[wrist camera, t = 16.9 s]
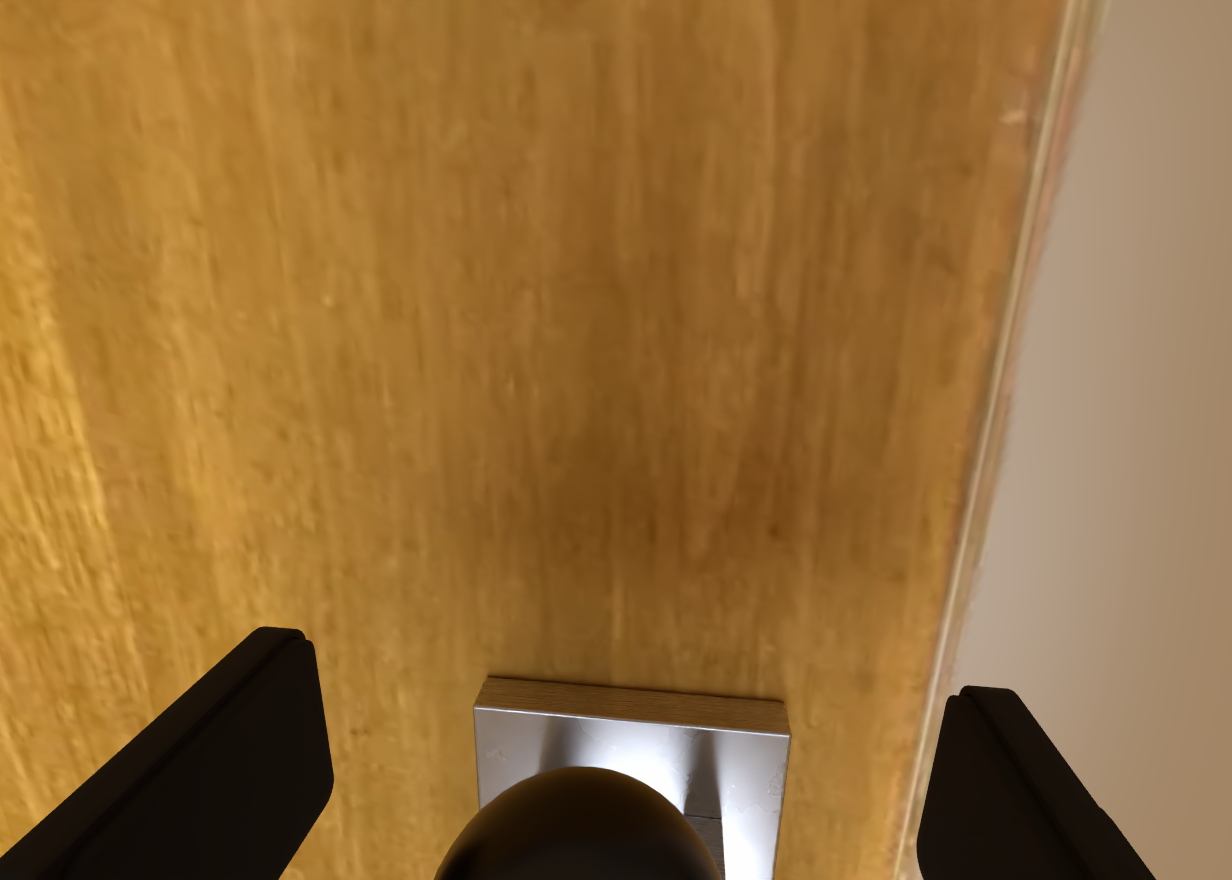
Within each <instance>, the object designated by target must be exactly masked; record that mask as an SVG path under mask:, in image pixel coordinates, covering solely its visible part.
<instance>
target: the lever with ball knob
mask: <svg viewBox="0 0 1232 880" xmlns="http://www.w3.org/2000/svg"><path fill="white" fill-rule="evenodd" d="M434 880H722V878H721V876H720V873H719V871H718V868H717V866H716V863H715V861H714V859H713V857H712V855H711V854H710V852H709V850H708V848H707V846H706V844H705V842H704V841H703V840H702V838H701V837H700V835H699V834H698V832H697V831H696V830H695V828H694V827H693V825H692V824H691V823H690V822H689V821H688V819H687V818H686V817H685V816H684V815H683V814H682V813H681V812H680V810H679V809H678V808H677V807H676V806H675V805H674V804H673V803H671V802H670V801H669V800H668V799H667V798H666V797H664V796H663V795H662V794H661V793H659V792H658V791H656V790H655V789H653V788H652V787H650V786H649V785H647V784H646V783H644V782H642V781H640V780H638V779H636V778H634V777H631V776H629V775H627V774H624V773H620V772H617V771H614V770H611V769H605V768H599V767H590V766H573V767H565V768H558V769H554V770H550V771H546V772H543V773H539V774H536V775H534V776H531V777H529V778H527V779H524V780H522V781H520V782H518V783H516V784H515V785H513V786H511V787H510V788H508V789H506V790H505V791H503V792H502V793H501V794H499V795H498V796H497V797H496V798H494V799H493V800H492V801H491V802H489V803H488V804H487V805H486V806H485V807H483V808H482V809H481V810H480V811H479V812H478V813H477V814H476V815H475V817H474V818H473V819H472V820H471V821H470V822H469V823H468V824H467V825H466V827H465V828H464V829H463V831H462V832H461V833H460V835H459V836H458V837H457V839H456V840H455V841H454V843H453V844H452V846H451V848H450V849H449V851H448V853H447V854H446V856H445V858H444V860H443V861H442V863H441V865H440V867H439V868H438V870H437V873H436V875H435V878H434Z"/></svg>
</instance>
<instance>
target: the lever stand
mask: <svg viewBox="0 0 1232 880" xmlns="http://www.w3.org/2000/svg"><path fill="white" fill-rule="evenodd" d="M473 715H474V732H475V748H476V765H477V782H478V799H479V811H480V810H481V809H482V808H483V807H485V806H486V805H487V804H488V803H489V802H491V801H492V800H493V799H494V798H496V797H497V796H498V795H499V794H501V793H502V792H503V791H505V790H506V789H508V788H510V787H511V786H513V785H515V784H516V783H518V782H520V781H522V780H524V779H527V778H529V777H531V776H534V775H536V774H539V773H543V772H546V771H550V770H554V769H558V768H565V767H573V766H590V767H599V768H605V769H611V770H614V771H617V772H620V773H624V774H627V775H629V776H631V777H634V778H636V779H638V780H640V781H642V782H644V783H646V784H647V785H649V786H650V787H652V788H653V789H655V790H656V791H658V792H659V793H661V794H662V795H663V796H664V797H666V798H667V799H668V800H669V801H670V802H671V803H673V804H674V805H675V806H676V807H677V808H678V809H679V810H680V812H681V813H682V814H683V815H684V816H685V817H686V818H687V819H688V821H689V822H690V823H691V824H692V825H693V827H694V828H695V830H696V831H697V832H698V834H699V835H700V837H701V838H702V840H703V841H704V842H705V844H706V846H707V848H708V850H709V852H710V854H711V855H712V857H713V859H714V861H715V863H716V866H717V868H718V871H719V873H720V876H721V878H722V880H774V875H775V866H776V858H777V850H778V842H779V834H780V826H781V818H782V809H783V801H784V793H785V785H786V777H787V769H788V761H789V752H790V744H791V736H792V735H791V730H790V726H789V721H788V717H787V712H786V707H785V704H784V703H782V702H773V701H762V700H750V699H738V698H727V697H715V696H703V695H692V694H680V693H668V692H657V691H645V690H633V689H622V688H610V687H598V686H587V685H575V684H563V683H552V682H540V681H528V680H517V679H505V678H493V677H487V678H486V679H485V682H484V684H483V686H482V688H481V690H480V692H479V694H478V697H477V699H476V701H475V703H474V705H473Z"/></svg>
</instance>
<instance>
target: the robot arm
mask: <svg viewBox="0 0 1232 880" xmlns="http://www.w3.org/2000/svg"><path fill="white" fill-rule="evenodd" d="M333 783H334V774H333V767H332V761H331V754H330V748H329V741H328V734H327V728H326V721H325V715H324V708H323V702H322V695H321V688H320V682H319V675H318V669H317V662H316V655H315V649H314V646H313V643H312V642H311V641H309V640H306V638H305V635H304V634H303V632H302V631H300V630H298V629H289V628H277V627H259V628H258V629H256V630H255V631H253V632H252V633H251V634H250V635H249V636H248V637H246V638H245V639H244V640H243V641H242V642H241V643H240V644H239V645H237V646H236V647H235V648H234V649H233V650H232V651H231V652H230V653H229V654H227V655H226V656H225V657H224V658H223V659H222V660H221V661H220V662H219V663H217V664H216V665H215V666H214V667H213V668H212V669H211V670H210V671H208V672H207V673H206V674H205V675H204V676H203V677H202V678H201V679H200V680H198V681H197V682H196V683H195V684H194V685H193V686H192V687H191V688H189V689H188V690H187V691H186V692H185V693H184V694H183V695H182V696H181V697H179V698H178V699H177V700H176V701H175V702H174V703H173V704H172V705H170V706H169V707H168V708H167V709H166V710H165V711H164V712H163V713H162V714H160V715H159V716H158V717H157V718H156V719H155V720H154V721H153V722H151V723H150V724H149V725H148V726H147V727H146V728H145V729H144V730H143V731H141V732H140V733H139V734H138V735H137V736H136V737H135V738H134V739H132V740H131V741H130V742H129V743H128V744H127V745H126V746H125V747H124V748H122V749H121V750H120V751H119V752H118V753H117V754H116V755H115V756H114V757H112V758H111V759H110V760H109V761H108V762H107V763H106V764H105V765H103V766H102V767H101V768H100V769H99V770H98V771H97V772H96V773H95V774H93V775H92V776H91V777H90V778H89V779H88V780H87V781H86V782H84V783H83V784H82V785H81V786H80V787H79V788H78V789H77V790H76V791H74V792H73V793H72V794H71V795H70V796H69V797H68V798H67V799H65V800H64V801H63V802H62V803H61V804H60V805H59V806H58V807H57V808H55V809H54V810H53V811H52V812H51V813H50V814H49V815H48V816H46V817H45V818H44V819H43V820H42V821H41V822H40V823H39V824H38V825H36V826H35V827H34V828H33V829H32V830H31V831H30V832H29V833H27V834H26V835H25V836H24V837H23V838H22V839H21V840H20V841H19V842H17V843H16V844H15V845H14V846H13V847H12V848H11V849H10V850H9V851H7V852H6V853H5V854H4V855H3V856H2V857H1V858H0V880H278V879H279V878H280V876H281V875H282V873H283V871H284V870H285V868H286V867H287V865H288V864H289V862H290V861H291V859H292V857H293V856H294V854H295V853H296V851H297V850H298V848H299V847H300V845H301V843H302V842H303V840H304V839H305V837H306V836H307V834H308V833H309V831H310V829H311V828H312V826H313V825H314V823H315V822H316V820H317V819H318V817H319V815H320V814H321V812H322V811H323V809H324V808H325V806H326V804H327V803H328V801H329V798H330V796H331V793H332V789H333ZM917 858H918V863H919V868H920V871H921V874H922V877H923V879H924V880H1156V879H1155V877H1154V876H1153V875H1152V873H1151V872H1150V871H1149V869H1148V868H1147V867H1146V865H1145V864H1144V862H1143V861H1142V860H1141V858H1140V857H1139V856H1138V854H1137V853H1136V852H1135V850H1134V849H1133V847H1132V846H1131V845H1130V843H1129V842H1128V841H1127V839H1126V838H1125V837H1124V835H1123V834H1122V832H1121V831H1120V830H1119V828H1118V827H1117V826H1116V824H1115V823H1114V822H1113V820H1112V819H1111V818H1110V817H1109V816H1108V815H1107V814H1106V813H1105V811H1104V810H1103V809H1101V808H1100V807H1099V806H1098V805H1097V803H1096V802H1095V801H1094V799H1093V798H1092V797H1091V795H1090V794H1089V792H1088V791H1087V790H1086V788H1085V787H1084V786H1083V784H1082V783H1081V781H1080V780H1079V779H1078V777H1077V776H1076V775H1075V773H1074V772H1073V770H1072V769H1071V768H1070V766H1069V765H1068V764H1067V762H1066V761H1065V759H1064V758H1063V757H1062V755H1061V754H1060V753H1059V751H1058V750H1057V748H1056V747H1055V746H1054V744H1053V743H1052V742H1051V740H1050V739H1049V738H1048V736H1047V735H1046V733H1045V732H1044V731H1043V729H1042V728H1041V726H1040V725H1039V724H1038V722H1037V721H1036V720H1035V718H1034V717H1033V715H1032V714H1031V713H1030V711H1029V710H1028V709H1027V707H1026V706H1025V704H1024V703H1023V702H1022V700H1021V699H1020V698H1019V696H1018V695H1017V694H1016V693H1015V692H1014V691H1012V690H1010V689H1005V688H992V687H981V686H969V685H968V686H964V687H963V688H962V689H961V691H960V694H959V696H957V695H952V696H950V697H949V698H948V699H947V702H946V706H945V711H944V716H943V720H942V725H941V730H940V734H939V739H938V744H937V748H936V753H935V758H934V762H933V767H932V772H931V776H930V781H929V786H928V790H927V795H926V800H925V804H924V809H923V814H922V818H921V823H920V828H919V832H918V837H917Z"/></svg>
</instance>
